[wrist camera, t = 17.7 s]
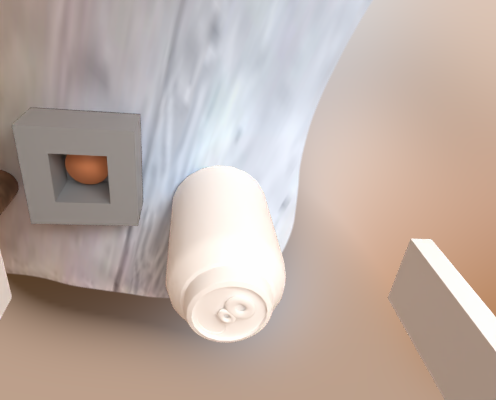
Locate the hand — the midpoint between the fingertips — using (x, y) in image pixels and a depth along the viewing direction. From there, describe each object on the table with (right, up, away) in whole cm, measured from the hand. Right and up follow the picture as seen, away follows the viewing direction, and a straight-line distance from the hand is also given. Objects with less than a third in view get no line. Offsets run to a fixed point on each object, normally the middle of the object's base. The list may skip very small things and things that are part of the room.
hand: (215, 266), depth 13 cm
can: (-3, +2, +42) cm, 42 cm away
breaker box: (-18, +7, +36) cm, 41 cm away
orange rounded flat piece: (-18, +7, +36) cm, 41 cm away
